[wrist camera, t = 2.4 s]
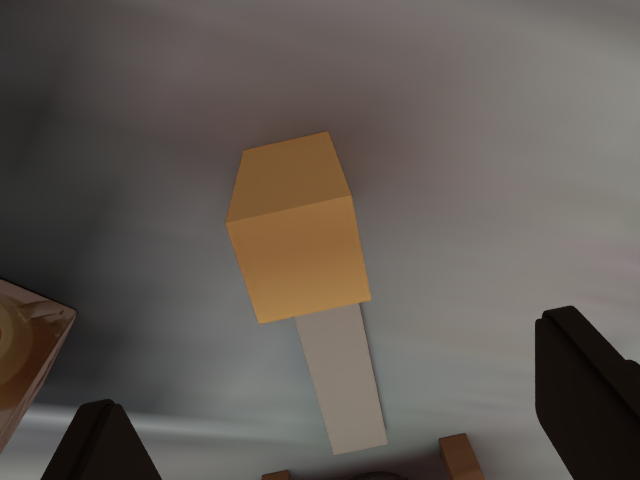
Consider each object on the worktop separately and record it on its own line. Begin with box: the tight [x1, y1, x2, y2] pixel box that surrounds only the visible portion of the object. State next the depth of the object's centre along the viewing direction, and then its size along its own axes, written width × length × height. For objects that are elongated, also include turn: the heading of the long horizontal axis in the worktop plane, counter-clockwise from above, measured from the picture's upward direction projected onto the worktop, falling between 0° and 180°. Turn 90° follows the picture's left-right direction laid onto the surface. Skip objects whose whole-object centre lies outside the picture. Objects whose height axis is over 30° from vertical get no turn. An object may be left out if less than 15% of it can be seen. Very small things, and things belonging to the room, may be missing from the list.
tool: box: [225, 131, 388, 455], centre depth 23 cm, size 20×4×8 cm, turn 12°
